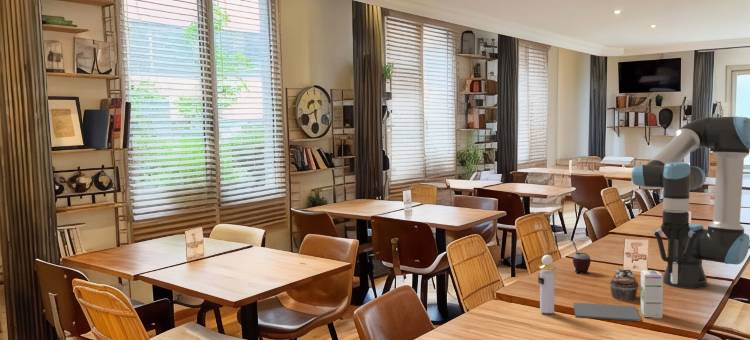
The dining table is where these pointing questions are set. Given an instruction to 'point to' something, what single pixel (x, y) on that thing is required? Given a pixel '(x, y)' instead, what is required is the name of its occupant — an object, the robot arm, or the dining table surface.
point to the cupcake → (624, 285)
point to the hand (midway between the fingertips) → (674, 282)
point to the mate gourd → (581, 261)
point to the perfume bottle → (546, 285)
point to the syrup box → (651, 293)
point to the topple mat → (606, 311)
